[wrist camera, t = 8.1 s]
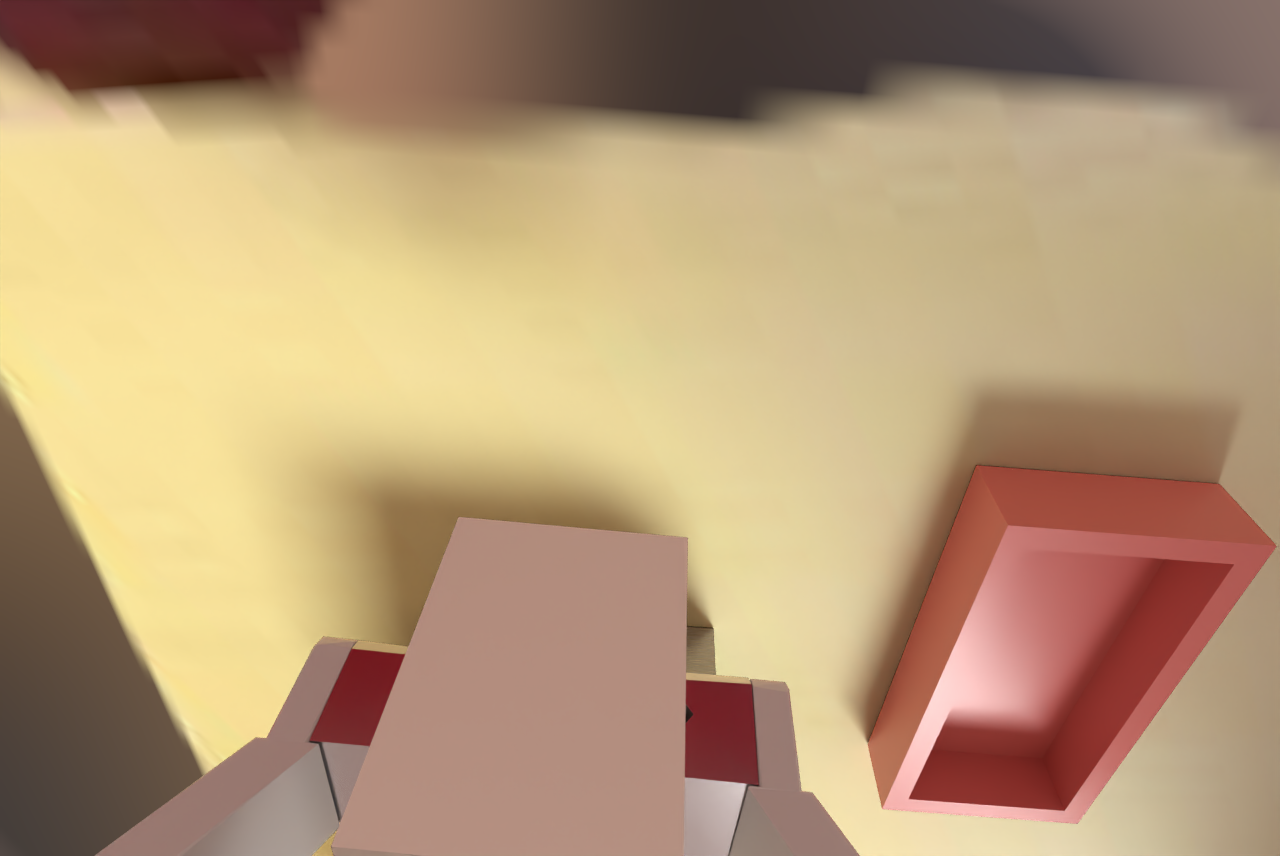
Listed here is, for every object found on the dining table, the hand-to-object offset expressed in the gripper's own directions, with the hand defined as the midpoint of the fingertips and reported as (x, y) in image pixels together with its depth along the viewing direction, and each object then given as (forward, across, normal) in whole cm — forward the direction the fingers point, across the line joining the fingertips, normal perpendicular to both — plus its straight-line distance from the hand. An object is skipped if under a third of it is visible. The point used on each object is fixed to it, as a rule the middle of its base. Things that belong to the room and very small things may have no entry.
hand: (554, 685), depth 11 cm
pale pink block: (+2, 0, +4) cm, 4 cm away
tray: (+13, -15, +12) cm, 23 cm away
